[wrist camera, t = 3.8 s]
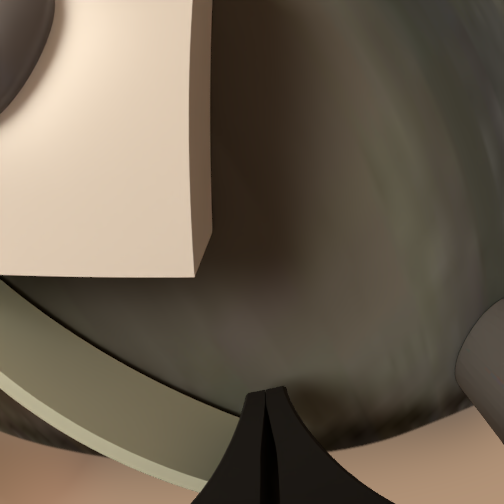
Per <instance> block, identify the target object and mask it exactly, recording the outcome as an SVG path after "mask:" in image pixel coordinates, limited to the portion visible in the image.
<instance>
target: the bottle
mask: <svg viewBox="0 0 504 504" xmlns="http://www.w3.org/2000/svg"><path fill="white" fill-rule="evenodd" d="M455 377H456V381H457V383H458V385H459V386H460V388H461V389H462V390H463V392H464V393H465V394H466V395H467V397H468V398H469V399H470V400H471V402H472V403H473V404H474V406H475V407H476V408H477V410H478V411H479V412H480V413H481V415H482V416H483V417H484V419H485V420H486V421H487V423H488V424H489V425H490V427H491V428H492V429H493V431H494V432H495V433H496V435H497V436H498V437H499V438H500V440H501V441H502V443H503V444H504V298H503V299H501V300H499V301H498V302H497V303H495V304H494V305H493V306H491V307H490V308H489V309H488V310H487V311H486V312H485V313H484V314H483V315H482V316H481V317H480V319H479V320H478V321H477V323H476V324H475V325H474V327H473V328H472V330H471V331H470V333H469V334H468V336H467V338H466V339H465V342H464V344H463V346H462V348H461V350H460V352H459V355H458V358H457V362H456V367H455Z"/></svg>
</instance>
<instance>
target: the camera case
mask: <svg viewBox="0 0 504 504" xmlns="http://www.w3.org/2000/svg"><path fill="white" fill-rule="evenodd" d="M211 25H212V0H0V275H22V276H62V277H195V275H196V272H197V270H198V267H199V265H200V262H201V260H202V257H203V254H204V252H205V249H206V247H207V244H208V242H209V239H210V237H211V234H212V203H211V156H210V68H211Z"/></svg>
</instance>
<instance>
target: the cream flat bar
mask: <svg viewBox="0 0 504 504" xmlns="http://www.w3.org/2000/svg"><path fill="white" fill-rule="evenodd" d="M0 389H1V390H3V391H4V392H5V393H7V394H8V395H9V396H10V397H12V398H13V399H14V400H16V401H17V402H18V403H20V404H21V405H22V406H24V407H25V408H27V409H28V410H29V411H31V412H32V413H34V414H35V415H37V416H38V417H40V418H41V419H43V420H44V421H46V422H47V423H49V424H50V425H52V426H53V427H55V428H57V429H58V430H60V431H61V432H63V433H65V434H66V435H68V436H70V437H72V438H73V439H75V440H77V441H79V442H80V443H82V444H84V445H86V446H88V447H90V448H91V449H93V450H95V451H97V452H99V453H101V454H103V455H105V456H107V457H109V458H111V459H113V460H115V461H118V462H120V463H122V464H124V465H126V466H129V467H131V468H133V469H136V470H138V471H140V472H143V473H145V474H147V475H150V476H153V477H155V478H158V479H160V480H163V481H166V482H169V483H171V484H174V485H177V486H180V487H183V488H186V489H190V490H192V491H196V492H199V493H200V492H201V490H202V489H203V488H204V486H205V485H206V483H207V482H208V481H209V479H210V478H211V476H212V475H213V473H214V471H215V470H216V468H217V466H218V465H219V463H220V461H221V459H222V458H223V456H224V454H225V451H226V449H227V447H228V445H229V443H230V441H231V439H232V437H233V434H234V432H235V429H236V427H237V424H238V421H239V417H236V416H233V415H231V414H228V413H226V412H223V411H221V410H218V409H216V408H213V407H211V406H209V405H206V404H204V403H202V402H199V401H197V400H195V399H192V398H190V397H188V396H186V395H184V394H181V393H179V392H177V391H175V390H173V389H171V388H169V387H167V386H165V385H163V384H161V383H159V382H157V381H155V380H153V379H151V378H149V377H147V376H145V375H143V374H141V373H139V372H137V371H135V370H134V369H132V368H130V367H128V366H126V365H124V364H123V363H121V362H119V361H117V360H116V359H114V358H112V357H110V356H109V355H107V354H105V353H104V352H102V351H100V350H99V349H97V348H95V347H94V346H92V345H90V344H89V343H87V342H86V341H84V340H82V339H81V338H79V337H78V336H76V335H75V334H73V333H72V332H70V331H69V330H67V329H66V328H64V327H63V326H61V325H60V324H58V323H57V322H55V321H54V320H53V319H51V318H50V317H48V316H47V315H46V314H44V313H43V312H41V311H40V310H39V309H37V308H36V307H35V306H33V305H32V304H31V303H29V302H28V301H27V300H25V299H24V298H23V297H21V296H20V295H19V294H18V293H16V292H15V291H14V290H13V289H11V288H10V287H9V286H8V285H7V284H5V283H4V282H3V281H2V280H1V279H0Z"/></svg>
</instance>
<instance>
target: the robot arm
mask: <svg viewBox="0 0 504 504" xmlns="http://www.w3.org/2000/svg"><path fill="white" fill-rule="evenodd" d="M191 504H395V503H393V502H391V501H389V500H388V499H386V498H384V497H383V496H381V495H379V494H378V493H376V492H375V491H373V490H372V489H370V488H368V487H367V486H366V485H364V484H363V483H362V482H360V481H359V480H358V479H357V478H355V477H354V476H353V475H352V474H350V473H349V472H347V470H345V469H344V468H343V467H342V466H341V465H340V464H339V463H338V462H337V461H336V460H335V459H333V458H332V456H330V454H329V453H328V452H327V451H326V450H325V449H324V448H323V447H322V446H321V445H320V444H319V442H318V441H317V440H316V439H315V438H314V436H313V435H312V434H311V432H310V431H309V430H308V428H307V427H306V426H305V424H304V423H303V421H302V420H301V418H300V417H299V415H298V414H297V412H296V410H295V408H294V406H293V405H292V403H291V401H290V398H289V396H288V393H287V389H286V387H284V386H280V387H276V388H271V389H266V392H265V390H262V391H257V392H252V393H248V394H247V395H246V398H245V402H244V406H243V409H242V413H241V416H240V418H239V421H238V424H237V427H236V429H235V432H234V434H233V437H232V439H231V441H230V443H229V445H228V447H227V449H226V451H225V454H224V456H223V458H222V459H221V461H220V463H219V465H218V466H217V468H216V470H215V471H214V473H213V475H212V476H211V478H210V479H209V481H208V482H207V483H206V485H205V486H204V488H203V489H202V490H201V492H200V493H199V494H198V495H197V497H196V498H195V499H194V500H193V502H192V503H191Z"/></svg>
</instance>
